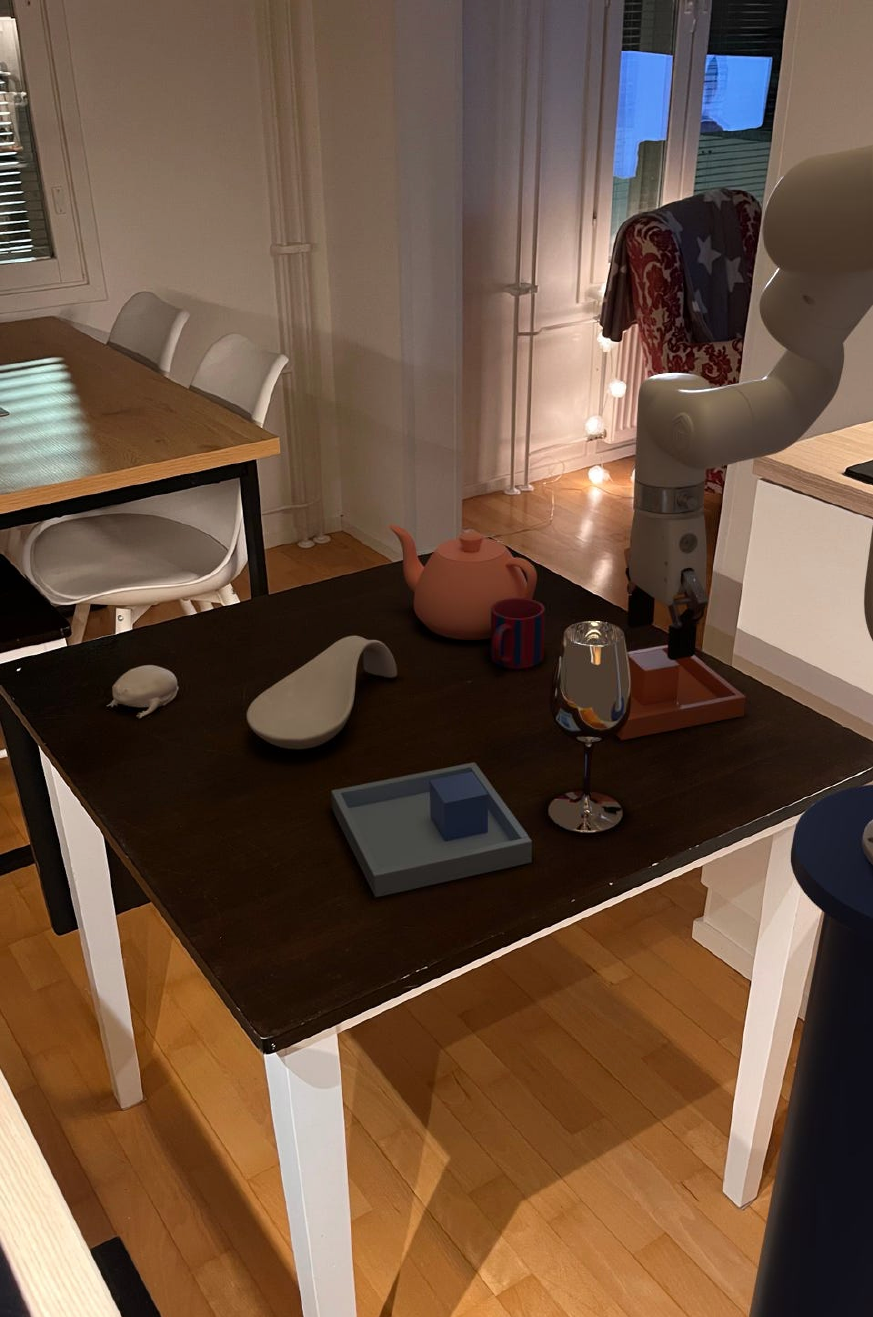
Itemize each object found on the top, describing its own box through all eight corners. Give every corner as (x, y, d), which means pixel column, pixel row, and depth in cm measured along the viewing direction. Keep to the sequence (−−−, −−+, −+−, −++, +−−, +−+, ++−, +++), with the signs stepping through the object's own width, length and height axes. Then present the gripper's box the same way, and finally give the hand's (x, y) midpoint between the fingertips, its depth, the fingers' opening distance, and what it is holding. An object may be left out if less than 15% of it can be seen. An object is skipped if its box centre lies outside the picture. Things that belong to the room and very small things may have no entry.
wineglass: (534, 802, 122) (538, 624, 112) (601, 786, 124) (611, 610, 114) (567, 842, 116) (575, 657, 105) (638, 824, 118) (652, 642, 108)
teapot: (366, 629, 160) (361, 541, 153) (420, 588, 171) (417, 504, 165) (516, 658, 151) (517, 566, 144) (562, 613, 163) (565, 526, 156)
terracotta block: (676, 699, 140) (680, 664, 137) (642, 705, 138) (645, 671, 136) (658, 682, 143) (661, 649, 141) (625, 689, 142) (627, 655, 140)
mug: (552, 653, 152) (554, 604, 148) (513, 684, 145) (514, 633, 141) (507, 642, 155) (508, 593, 152) (467, 671, 148) (466, 621, 144)
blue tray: (531, 862, 113) (532, 841, 112) (375, 897, 109) (373, 875, 108) (474, 782, 126) (474, 761, 125) (332, 810, 122) (331, 790, 120)
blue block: (488, 832, 117) (488, 794, 114) (445, 841, 116) (444, 803, 113) (472, 809, 120) (471, 771, 118) (430, 817, 119) (429, 780, 117)
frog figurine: (140, 721, 139) (135, 692, 137) (100, 706, 142) (95, 678, 140) (188, 694, 145) (184, 666, 143) (149, 681, 148) (145, 653, 146)
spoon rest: (317, 773, 128) (312, 715, 124) (229, 750, 133) (221, 693, 129) (421, 682, 146) (419, 629, 142) (340, 664, 151) (336, 612, 147)
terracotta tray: (743, 715, 137) (746, 696, 135) (621, 740, 133) (622, 720, 131) (677, 660, 149) (679, 642, 148) (564, 681, 145) (565, 662, 144)
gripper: (742, 512, 122) (727, 664, 130) (661, 470, 136) (653, 609, 145) (676, 522, 120) (666, 676, 128) (602, 478, 134) (597, 619, 143)
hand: (659, 641), depth 136 cm, fingers open, 9 cm apart
